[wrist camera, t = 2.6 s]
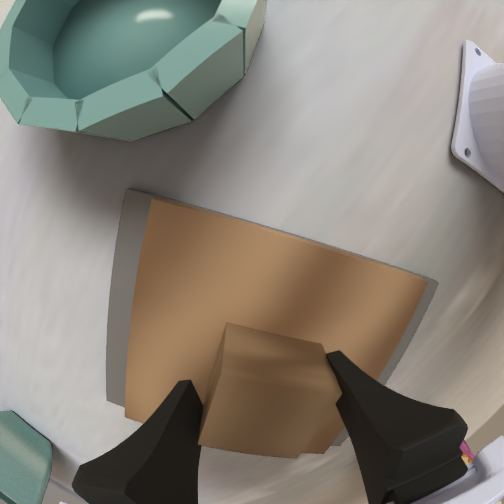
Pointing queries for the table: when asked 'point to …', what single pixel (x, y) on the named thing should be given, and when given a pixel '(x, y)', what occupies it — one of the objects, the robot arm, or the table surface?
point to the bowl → (123, 62)
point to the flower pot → (22, 461)
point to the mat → (124, 289)
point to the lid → (256, 328)
